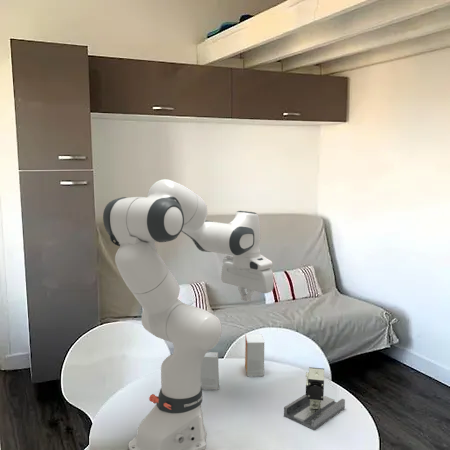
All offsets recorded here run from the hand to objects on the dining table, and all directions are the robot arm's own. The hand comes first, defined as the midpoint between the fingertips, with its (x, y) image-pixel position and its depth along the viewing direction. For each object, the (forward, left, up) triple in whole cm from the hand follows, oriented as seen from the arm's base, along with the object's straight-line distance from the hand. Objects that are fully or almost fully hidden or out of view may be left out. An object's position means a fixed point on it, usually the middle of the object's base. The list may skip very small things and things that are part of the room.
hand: (246, 300), depth 169 cm
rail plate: (+3, -26, -31) cm, 41 cm away
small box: (+12, +6, -31) cm, 34 cm away
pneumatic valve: (+4, -25, -30) cm, 39 cm away
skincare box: (-8, +9, -31) cm, 34 cm away
